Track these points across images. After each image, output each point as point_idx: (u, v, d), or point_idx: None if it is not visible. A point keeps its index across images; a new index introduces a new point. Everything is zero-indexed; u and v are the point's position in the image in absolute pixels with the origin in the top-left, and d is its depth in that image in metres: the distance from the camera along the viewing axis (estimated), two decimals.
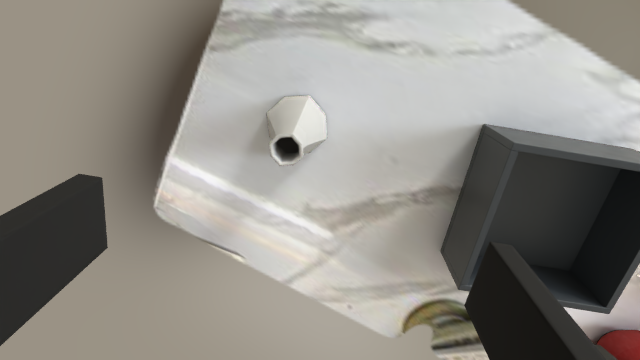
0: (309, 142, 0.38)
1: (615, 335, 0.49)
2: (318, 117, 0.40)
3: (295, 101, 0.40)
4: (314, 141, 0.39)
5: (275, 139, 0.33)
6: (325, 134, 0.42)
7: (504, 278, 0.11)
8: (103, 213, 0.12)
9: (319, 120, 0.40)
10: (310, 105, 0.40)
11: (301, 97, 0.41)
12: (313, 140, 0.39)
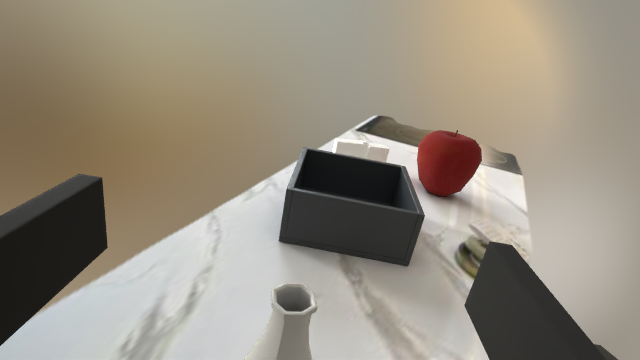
0: None
1: (428, 184, 0.71)
2: None
3: None
4: None
5: (279, 306, 0.24)
6: None
7: (504, 279, 0.11)
8: (103, 213, 0.12)
9: None
10: None
11: None
12: None
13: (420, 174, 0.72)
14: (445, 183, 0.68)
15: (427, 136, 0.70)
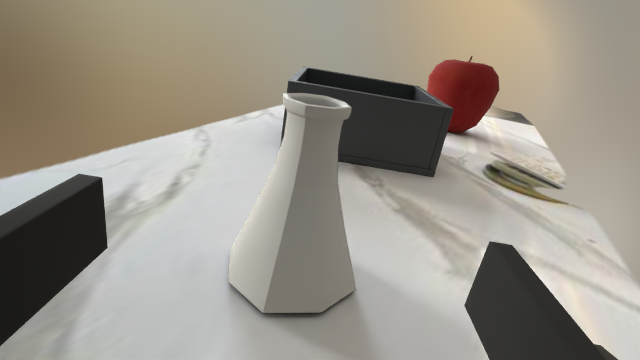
0: None
1: None
2: None
3: (238, 249, 0.20)
4: None
5: (296, 101, 0.16)
6: None
7: (505, 278, 0.11)
8: (103, 213, 0.12)
9: None
10: None
11: (232, 254, 0.20)
12: None
13: None
14: (460, 114, 0.62)
15: (438, 65, 0.64)
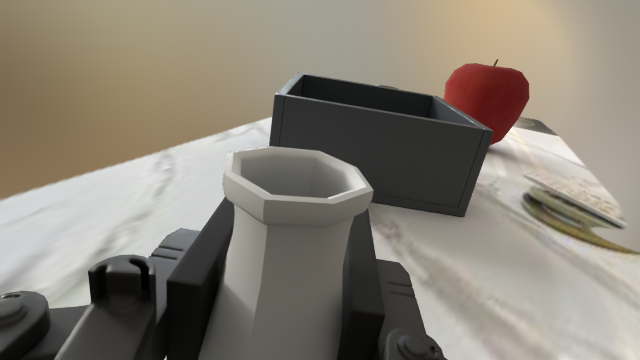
0: None
1: None
2: None
3: None
4: None
5: (246, 182, 0.07)
6: None
7: None
8: None
9: None
10: None
11: None
12: None
13: None
14: None
15: (457, 69, 0.54)
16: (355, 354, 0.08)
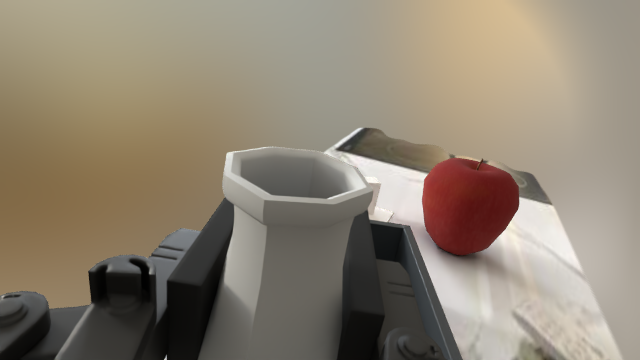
0: None
1: (440, 240, 0.47)
2: None
3: None
4: None
5: (246, 183, 0.07)
6: None
7: None
8: None
9: None
10: None
11: None
12: None
13: (428, 224, 0.49)
14: (467, 240, 0.45)
15: (437, 168, 0.47)
16: (355, 354, 0.08)
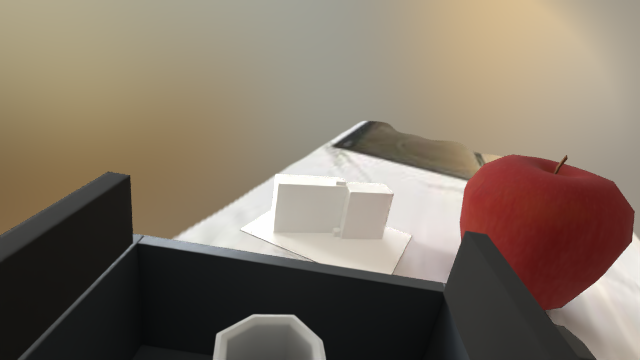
0: None
1: None
2: None
3: None
4: None
5: None
6: None
7: (477, 265, 0.11)
8: (130, 209, 0.13)
9: None
10: None
11: None
12: None
13: None
14: (543, 293, 0.27)
15: (488, 172, 0.29)
16: None
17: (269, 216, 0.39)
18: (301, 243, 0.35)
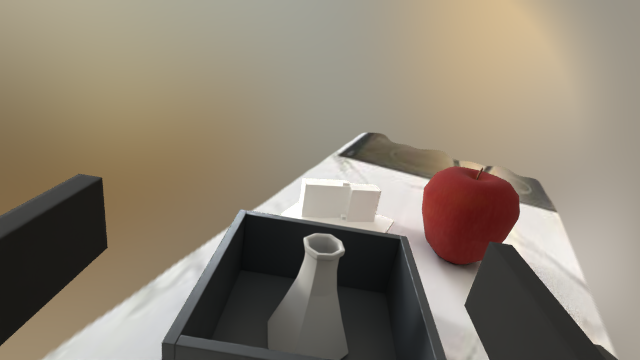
0: None
1: (440, 249, 0.47)
2: None
3: (273, 325, 0.31)
4: None
5: (312, 249, 0.27)
6: None
7: (504, 278, 0.11)
8: (103, 213, 0.12)
9: None
10: None
11: (269, 327, 0.32)
12: None
13: (428, 233, 0.48)
14: (467, 250, 0.45)
15: (437, 177, 0.47)
16: None
17: (297, 206, 0.57)
18: None
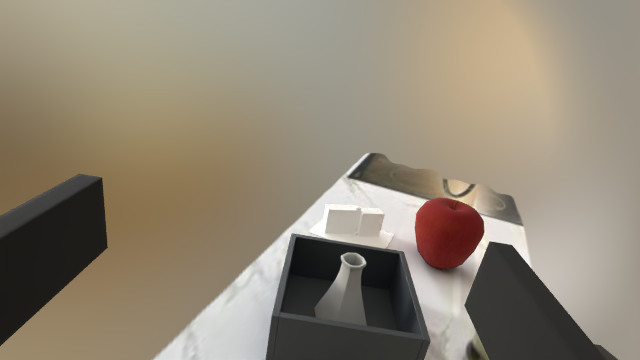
0: None
1: (427, 258, 0.65)
2: None
3: (319, 309, 0.49)
4: None
5: (347, 263, 0.45)
6: None
7: (505, 279, 0.11)
8: (103, 213, 0.12)
9: None
10: None
11: (316, 311, 0.50)
12: None
13: (419, 246, 0.67)
14: (446, 259, 0.63)
15: (425, 206, 0.65)
16: None
17: (320, 224, 0.75)
18: (339, 238, 0.71)
